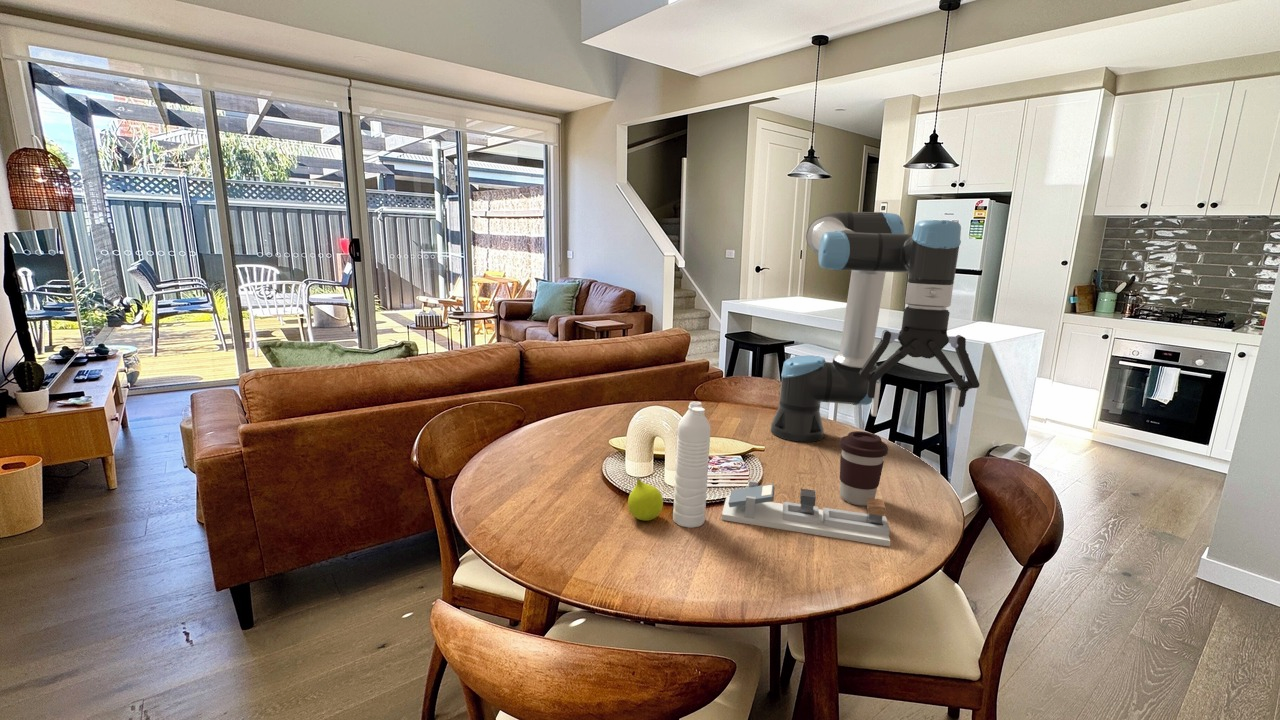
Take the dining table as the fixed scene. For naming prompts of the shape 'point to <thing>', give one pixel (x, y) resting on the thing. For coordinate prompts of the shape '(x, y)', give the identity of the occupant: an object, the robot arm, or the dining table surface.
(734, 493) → the rocker
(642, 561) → the dining table surface
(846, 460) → the coffee cup
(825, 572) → the dining table surface
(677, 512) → the water bottle
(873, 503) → the slider
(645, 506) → the ornament
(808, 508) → the slider
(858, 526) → the panel
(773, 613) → the dining table surface
